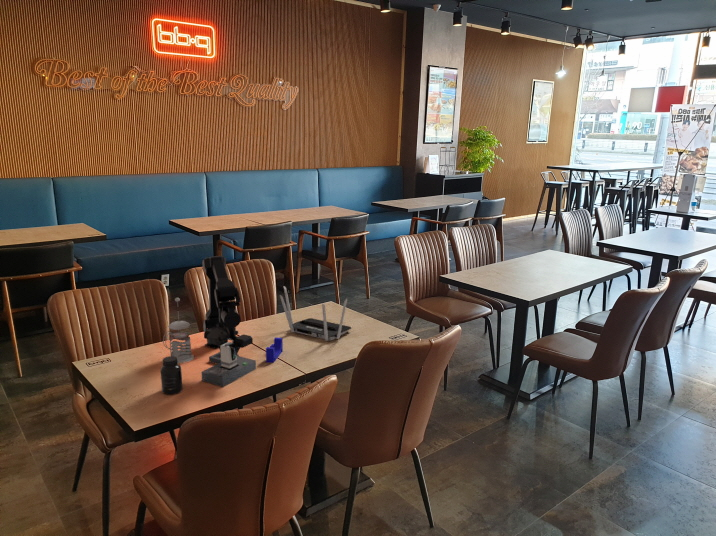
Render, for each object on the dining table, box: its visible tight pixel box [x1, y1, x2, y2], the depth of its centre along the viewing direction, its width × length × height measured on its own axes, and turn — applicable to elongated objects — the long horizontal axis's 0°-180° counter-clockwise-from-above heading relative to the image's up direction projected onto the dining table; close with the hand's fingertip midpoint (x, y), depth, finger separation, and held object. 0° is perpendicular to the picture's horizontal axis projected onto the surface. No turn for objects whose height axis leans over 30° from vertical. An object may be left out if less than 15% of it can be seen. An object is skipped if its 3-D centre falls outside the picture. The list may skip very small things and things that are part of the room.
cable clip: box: [265, 337, 284, 364], centre depth 222 cm, size 12×4×6 cm, turn 171°
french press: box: [162, 297, 195, 364], centre depth 216 cm, size 10×12×25 cm
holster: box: [208, 351, 239, 365], centre depth 218 cm, size 8×8×2 cm
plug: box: [219, 341, 237, 368], centre depth 204 cm, size 4×4×9 cm
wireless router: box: [279, 285, 352, 342], centre depth 246 cm, size 34×23×20 cm
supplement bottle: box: [159, 355, 184, 396], centre depth 191 cm, size 7×7×12 cm
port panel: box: [201, 356, 257, 388], centre depth 205 cm, size 10×18×4 cm, turn 151°
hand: (228, 359), depth 204 cm, fingers closed on plug, 4 cm apart
